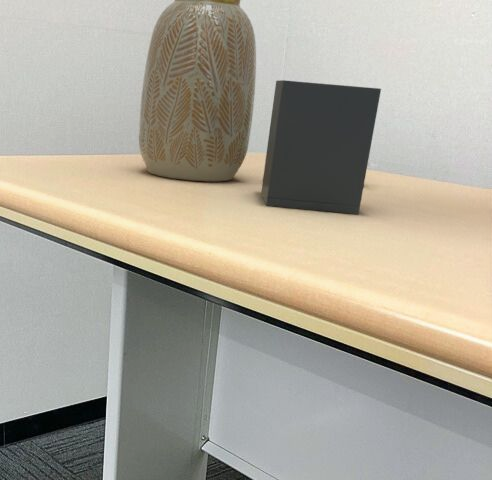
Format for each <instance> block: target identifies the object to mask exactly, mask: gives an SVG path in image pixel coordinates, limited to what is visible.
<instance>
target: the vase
mask: <svg viewBox="0 0 492 480" xmlns="http://www.w3.org/2000/svg"><path fill="white" fill-rule="evenodd" d="M241 1H242V0H174V1H173V2H171V3H170V4H169V5H168V6H167V7H165V9H164V10H163V11H161V14H160V15H159V17H158V19H157V21H156V22H155V24H154V27H153V30H152V32H151V37H150V41H149V47H148V50H147V55H146V61H145V67H144V73H143V74H144V75H143V79H142V81H143V83H142V87H141V88H142V89H141V98H140V107H139V108H140V110H139V125H138V129H139V130H138V146H139V152H140V155H141V158H142V161H143V164H144V166H145V168H146V170H147V172H148V173H149V174H152V175H154V176H158V177H161V178H168V179H172V180H173V179H174V180H175V179H176V180H181V181H192V182H210V183H211V182H212V183H213V182H216V183H217V182H228V181H231V180H233V179H234V178H235V176H236V175H237V173H238V171H239V170H240V168H241V166H242V164H243V163H244V161H245V159H246V156H247V153H248V151H249V150H248V149H249V145H250V138H251V131H252V124H253V118H254V117H253V116H254V109H255V107H254V106H255V98H256V97H255V95H256V83H257V82H256V81H257V79H256V78H257V45H256V44H257V42H256V35H255V29H254V26H253V24H252V22H251V19H250V17H249V16H248V14H247V13H246V12H245V11H244V9H243V8H242V7H241Z"/></svg>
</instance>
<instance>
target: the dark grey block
mask: <svg viewBox="0 0 492 480" xmlns="http://www.w3.org/2000/svg"><path fill="white" fill-rule="evenodd" d="M274 86H275V87H274V94H273V103H272V109H271V118H270V123H269V132H268V141H267V147H266V152H265V153H266V155H265V162H264V169H263V170H264V171H263V177H262V184H261V193H260V194H261V196H262V198H263V200H264V203H265V205H266V206H267V207H278V208H286V209H287V208H288V209H298V210H307V211H308V210H309V211H317V212H318V211H319V212H327V213H328V212H329V213H338V214H339V213H341V214H350V215H359V214H360V210H361V209H360V208H361V204H362V198H363V191H364V185H365V181H366V175H367V169H368V164H369V160H370V159H369V158H370V154H371V148H372V141H373V137H374V132H375V125H376V121H377V115H378V109H379V103H380V99H381V98H380V97H381V93H382V88H377V87H367V86H355V85H342V84H333V83H331V84H330V83H322V82H321V83H317V82H307V81H297V80H285V79H284V80H282V79H281V80H276V81H275V85H274Z"/></svg>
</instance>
